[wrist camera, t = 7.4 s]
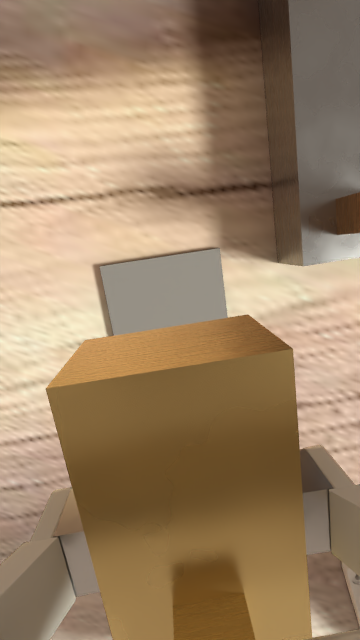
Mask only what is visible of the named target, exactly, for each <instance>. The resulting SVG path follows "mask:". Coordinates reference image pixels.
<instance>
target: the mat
mask: <svg viewBox="0 0 360 640" xmlns="http://www.w3.org/2000/svg"><path fill="white" fill-rule="evenodd" d="M100 271H101V276H102V281H103V286H104V290H105V295H106V300H107V305H108V310H109V315H110V320H111V325H112V330H113V335H114V336H116V335H122V334H128V333H135V332H141V331H147V330H153V329H160V328H166V327H172V326H179V325H185V324H191V323H198V322H204V321H210V320H217V319H223V318H228V317H227V308H226V300H225V291H224V282H223V274H222V265H221V256H220V248H216V249H210V250H203V251H197V252H190V253H184V254H177V255H170V256H164V257H157V258H151V259H144V260H138V261H131V262H125V263H118V264H111V265H105V266H100Z"/></svg>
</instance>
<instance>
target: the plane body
mask: <svg viewBox="0 0 360 640" xmlns="http://www.w3.org/2000/svg"><path fill="white" fill-rule="evenodd" d="M258 4H259V18H260V31H261V45H262V58H263V71H264V85H265V98H266V111H267V125H268V138H269V151H270V165H271V178H272V191H273V205H274V218H275V232H276V245H277V258H278V263H282V264H290V265H298V266H308V265H314V264H321V263H327V262H333V261H340V260H346V259H353V258H359V257H360V0H258Z"/></svg>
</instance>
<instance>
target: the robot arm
mask: <svg viewBox="0 0 360 640" xmlns="http://www.w3.org/2000/svg"><path fill="white" fill-rule="evenodd" d="M300 464H301V479H302V494H303V509H304V524H305V539H306V554H307V555H309V554H316V553H323V552H330V551H331V553H332V554H333V555H334V556H335V557H337V558H338V559H339V560H340V561H341V562H342V569H343V572H344V575H345V579H346V582H347V586H348V589H349V593H350V596H351V599H352V603H353V606H354V610H355V613H356V616H357V620H358V623H359V627H360V484H359V485H355V484H354V483H353V481H352V480H351V479H350V478H349V477H348V475H347V474H346V473H345V472H344V471H343V469H342V468H341V467H340V466H339V465H338V463H337V462H336V461H335V460H334V459H333V457H332V456H331V455H330V454H329V453H328V451H327V450H326V449H325V448H324V447H323V446H321V445H316V446H311V447H306V448H303V449H300ZM97 592H100V590H99V586H98V582H97V578H96V575H95V571H94V567H93V563H92V560H91V556H90V552H89V548H88V545H87V541H86V537H85V534H84V530H83V526H82V522H81V519H80V515H79V511H78V507H77V504H76V500H75V496H74V492H73V489H72V487H71V488H64V489H58V490H55V491H54V492H53V493H52V494H51V496H50V498H49V500H48V502H47V505H46V507H45V509H44V511H43V514H42V516H41V518H40V520H39V523H38V525H37V527H36V529H35V531H34V534H33V536H32V538H31V540H30V542H25V543H23V544H22V545H21V546H20V547H19V548H18V549H17V550H16V551H15V552H14V553H12V554H11V555H10V556H9V557H8V558H7V559H6V560H5V561H4V562H3V563H2V564H0V640H50V639H51V637H52V636H53V634H54V633H55V631H56V630H57V628H58V627H59V625H60V623H61V622H62V620H63V619H64V617H65V616H66V614H67V613H68V611H69V610H70V608H71V607H72V605H73V604H74V602H75V601H76V597H79V596H83V595H88V594H93V593H97ZM304 640H360V629H358V630H353V631H347V632H342V633H337V634H331V635H326V636H321V637H315V638H310V639H304Z"/></svg>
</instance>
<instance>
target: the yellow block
mask: <svg viewBox="0 0 360 640" xmlns="http://www.w3.org/2000/svg"><path fill="white" fill-rule="evenodd" d="M46 392H47V395H48V399H49V403H50V407H51V410H52V414H53V418H54V421H55V425H56V429H57V433H58V436H59V440H60V444H61V448H62V451H63V455H64V459H65V463H66V466H67V470H68V474H69V478H70V481H71V485H72V489H73V492H74V496H75V500H76V504H77V507H78V511H79V515H80V519H81V522H82V526H83V530H84V534H85V537H86V541H87V545H88V548H89V552H90V556H91V560H92V563H93V567H94V571H95V575H96V578H97V582H98V586H99V590H100V593H101V597H102V601H103V604H104V608H105V612H106V616H107V619H108V623H109V627H110V631H111V634H112V638H113V640H304V639H310V638H312V629H311V614H310V599H309V584H308V569H307V554H306V539H305V524H304V509H303V494H302V479H301V464H300V449H299V434H298V419H297V404H296V388H295V373H294V358H293V349H292V348H291V347H290V346H289V345H287V344H286V343H285V342H283V341H282V340H281V339H279V338H278V337H277V336H275V335H274V334H273V333H272V332H270V331H269V330H268V329H266V328H265V327H264V326H262V325H261V324H260V323H258V322H257V321H256V320H255V319H253V318H252V317H251V316H249V315H242V316H236V317H229V318H223V319H217V320H210V321H204V322H198V323H191V324H185V325H179V326H172V327H166V328H160V329H153V330H147V331H141V332H135V333H128V334H122V335H116V336H109V337H103V338H97V339H90V340H85V341H84V342H83V343H82V345H81V346H80V347H79V348H78V350H77V351H76V352H75V353H74V354H73V356H72V357H71V358H70V359H69V361H68V362H67V363H66V364H65V366H64V367H63V368H62V369H61V370H60V372H59V373H58V374H57V375H56V377H55V378H54V379H53V380H52V382H51V383H50V384H49V385H48V387H47V388H46Z"/></svg>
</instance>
